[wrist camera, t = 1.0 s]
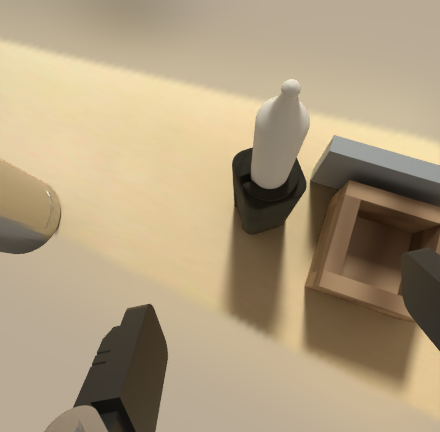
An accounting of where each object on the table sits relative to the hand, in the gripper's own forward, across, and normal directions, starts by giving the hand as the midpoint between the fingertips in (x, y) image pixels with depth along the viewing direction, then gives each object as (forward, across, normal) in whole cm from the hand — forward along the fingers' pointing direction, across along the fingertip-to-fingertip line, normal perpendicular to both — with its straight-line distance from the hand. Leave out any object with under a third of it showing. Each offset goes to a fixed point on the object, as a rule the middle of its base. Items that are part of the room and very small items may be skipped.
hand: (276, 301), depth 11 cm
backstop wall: (+28, -15, +9) cm, 33 cm away
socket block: (+24, -11, +14) cm, 30 cm away
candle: (+28, -1, +8) cm, 29 cm away
